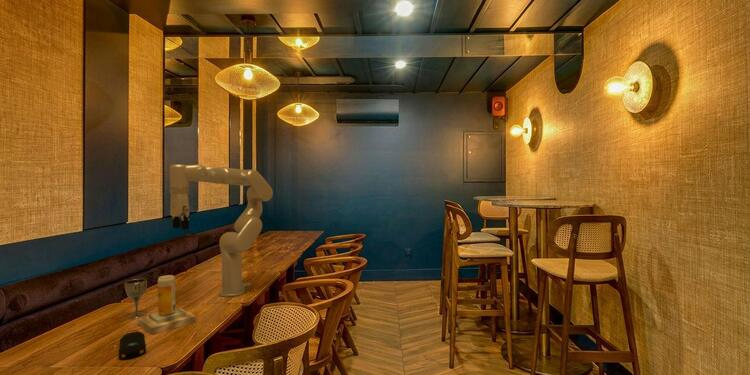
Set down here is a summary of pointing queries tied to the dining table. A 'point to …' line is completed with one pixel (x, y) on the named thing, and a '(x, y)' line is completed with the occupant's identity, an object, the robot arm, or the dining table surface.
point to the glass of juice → (166, 295)
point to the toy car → (132, 345)
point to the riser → (166, 321)
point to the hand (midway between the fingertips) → (180, 228)
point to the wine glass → (136, 294)
